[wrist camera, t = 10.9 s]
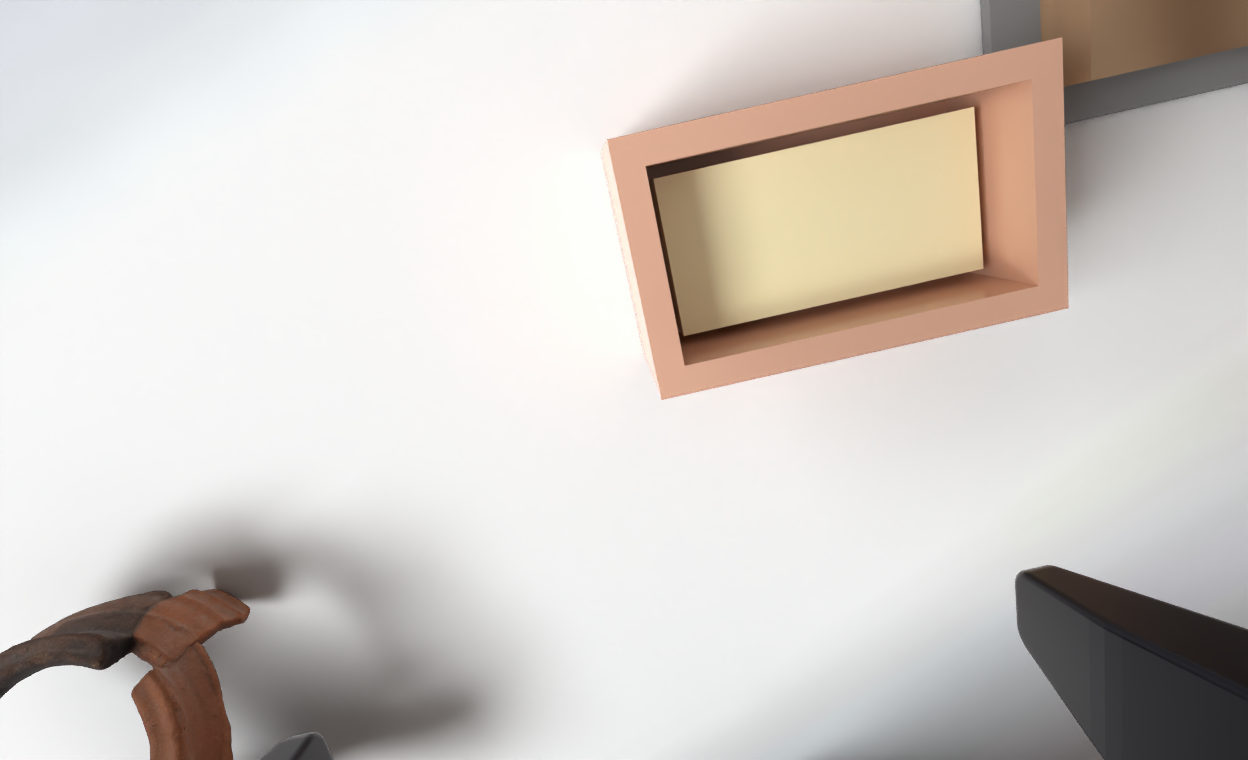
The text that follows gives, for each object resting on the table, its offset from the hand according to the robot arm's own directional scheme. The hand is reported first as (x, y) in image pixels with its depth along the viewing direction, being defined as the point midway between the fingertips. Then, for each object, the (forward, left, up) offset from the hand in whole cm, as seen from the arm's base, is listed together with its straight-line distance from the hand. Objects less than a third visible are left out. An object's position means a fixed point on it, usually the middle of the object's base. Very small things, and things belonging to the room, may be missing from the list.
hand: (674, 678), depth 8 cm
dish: (+4, -6, -12) cm, 14 cm away
